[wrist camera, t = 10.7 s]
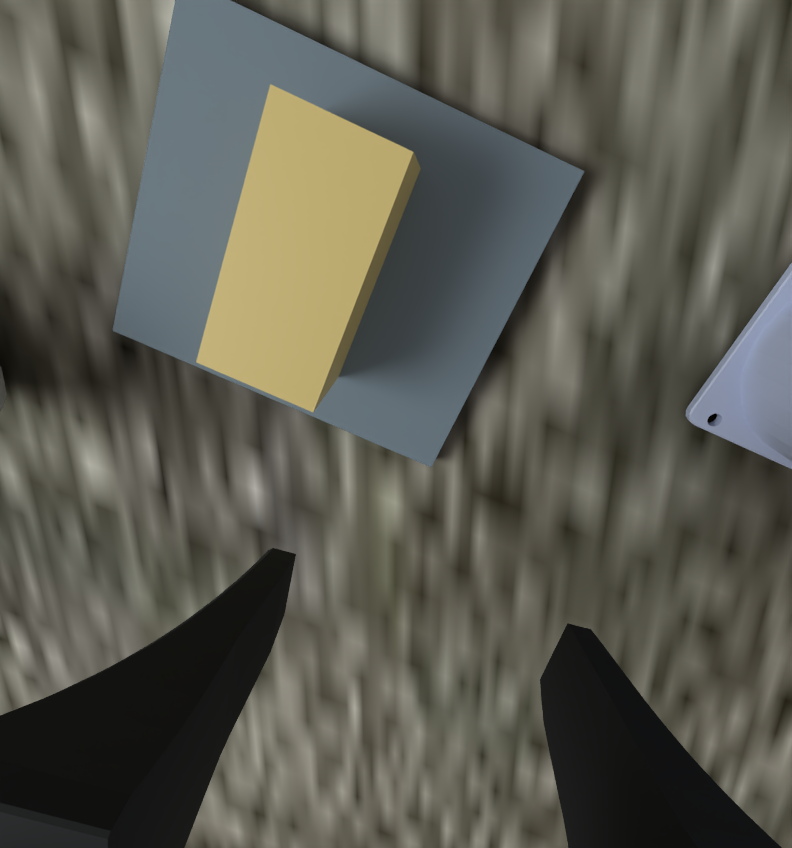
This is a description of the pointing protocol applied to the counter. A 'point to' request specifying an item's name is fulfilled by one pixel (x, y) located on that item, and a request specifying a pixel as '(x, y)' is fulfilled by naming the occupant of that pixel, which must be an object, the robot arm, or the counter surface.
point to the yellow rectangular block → (304, 249)
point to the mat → (411, 246)
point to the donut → (2, 390)
